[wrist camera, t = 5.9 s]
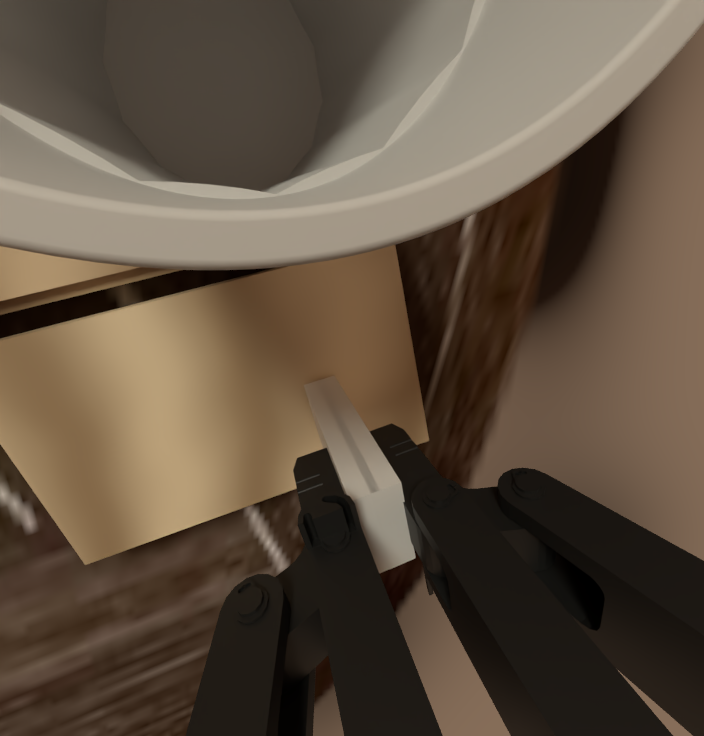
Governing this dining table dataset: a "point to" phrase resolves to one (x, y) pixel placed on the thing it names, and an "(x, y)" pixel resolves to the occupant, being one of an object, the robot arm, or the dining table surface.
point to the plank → (201, 396)
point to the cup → (299, 118)
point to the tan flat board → (58, 278)
